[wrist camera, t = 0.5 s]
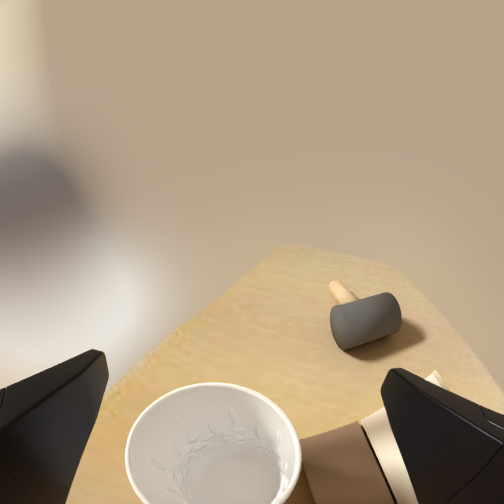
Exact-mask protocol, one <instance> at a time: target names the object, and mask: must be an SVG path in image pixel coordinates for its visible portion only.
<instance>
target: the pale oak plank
mask: <svg viewBox="0 0 504 504" xmlns="http://www.w3.org/2000/svg"><path fill="white" fill-rule="evenodd" d="M425 380H427V381H429V382H431V383H433V384H435V385H437V386H440V387H442V388H444V389H446V390H448V391H449V389H448V388H447V386H446V385H445V383H444V382H443V380H442V379H441V377H440V376H439V374H438V373H437V371H436V370H435V371H433V372H432V374H431V375H429V376H428V377H427V378H425ZM361 422H362V425H363V427H364V429H365V431H366V433H367V435H368V438H369V440H370V442H371V444H372V446H373V449H374V451H375V453H376V455H377V457H378V460H379V462H380V464H381V466H382V469H383V471H384V473H385V475H386V478H387V480H388V482H389V484H390V487H391V489H392V491H393V494H394V496H395V498H396V501H397V503H398V504H418V502H417V499H416V496H415V493H414V490H413V487H412V484H411V481H410V478H409V475H408V473H407V470H406V467H405V464H404V462H403V459H402V456H401V454H400V451H399V448H398V446H397V443H396V441H395V438H394V435H393V433H392V430H391V427H390V424H389V420H388V417H387V413H386V410H385V406H384V407H383V408H381V409H380V410H378V411H376V412H375V413H373V414H371V415H369V416H368V417H366V418H364V419H362V420H361Z"/></svg>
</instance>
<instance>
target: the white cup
mask: <svg viewBox="0 0 504 504" xmlns="http://www.w3.org/2000/svg"><path fill="white" fill-rule="evenodd" d="M301 463H302V452H301V445H300V440H299V437H298V434H297V432H296V429H295V427H294V425H293V424H292V422H291V421H290V419H289V418H288V416H287V415H286V414H285V413H284V411H283V410H282V409H281V408H280V407H279V406H277V405H276V404H275V403H274V402H273V401H271V400H270V399H268V398H267V397H265V396H264V395H262V394H260V393H258V392H256V391H254V390H251V389H248V388H246V387H242V386H239V385H234V384H228V383H200V384H194V385H189V386H185V387H182V388H179V389H176V390H174V391H172V392H169V393H167V394H166V395H164V396H162V397H160V398H159V399H157V400H156V401H155V402H153V403H152V404H151V405H150V406H148V407H147V408H146V409H145V410H144V411H143V413H142V414H141V415H140V416H139V417H138V419H137V420H136V422H135V423H134V425H133V427H132V429H131V431H130V434H129V436H128V439H127V443H126V450H125V464H126V470H127V474H128V478H129V480H130V483H131V485H132V487H133V489H134V491H135V492H136V494H137V495H138V497H139V498H140V499H141V500H142V502H143V503H144V504H283V503H284V502H285V501H286V500H287V499H288V497H289V496H290V494H291V493H292V491H293V489H294V487H295V485H296V483H297V480H298V478H299V474H300V470H301Z"/></svg>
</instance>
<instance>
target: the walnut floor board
mask: <svg viewBox="0 0 504 504" xmlns="http://www.w3.org/2000/svg"><path fill="white" fill-rule="evenodd" d="M300 445H301V452H302V463H301V464H302V468H303V471H304V474H305V477H306V480H307V483H308V486H309V489H310V492H311V495H312V498H313V501H314V504H395V502H394V500H393V498H392V495H391V493H390V491H389V488H388V486H387V484H386V481H385V479H384V477H383V474H382V472H381V470H380V468H379V465H378V463H377V461H376V459H375V456H374V454H373V452H372V450H371V448H370V445H369V443H368V441H367V439H366V436H365V434H364V432H363V430H362V428H361V426H360V424H359V423H358V421H356V422H354V423H351V424H348V425H346V426H343V427H340V428H337V429H334V430H331V431H328V432H325V433H322V434H318V435H315V436H312V437H308V438H305V439H301V440H300Z"/></svg>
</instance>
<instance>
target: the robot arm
mask: <svg viewBox="0 0 504 504" xmlns="http://www.w3.org/2000/svg"><path fill="white" fill-rule="evenodd" d="M108 378H109V372H108V367H107V362H106V356H105V354H104V352H102V351H98V350H94V349H91V350H89V351H87V352H84V353H82V354H80V355H78V356H76V357H74V358H71V359H69V360H67V361H64V362H62V363H60V364H58V365H56V366H53V367H51V368H49V369H46V370H44V371H42V372H40V373H37V374H35V375H33V376H31V377H28V378H26V379H24V380H21V381H19V382H17V383H14V384H12V385H10V386H7V387H6V388H3V389H1V390H0V504H65V503H66V500H67V497H68V494H69V491H70V488H71V485H72V482H73V479H74V476H75V473H76V470H77V468H78V465H79V462H80V460H81V457H82V454H83V452H84V449H85V446H86V444H87V441H88V439H89V436H90V434H91V431H92V429H93V426H94V424H95V421H96V419H97V416H98V412H99V409H100V405H101V402H102V399H103V395H104V392H105V389H106V385H107V382H108ZM381 396H382V399H383V403H384V406H385V410H386V413H387V417H388V420H389V424H390V427H391V430H392V433H393V435H394V438H395V441H396V443H397V446H398V448H399V451H400V454H401V456H402V459H403V462H404V464H405V467H406V470H407V473H408V475H409V478H410V481H411V484H412V487H413V490H414V493H415V496H416V499H417V502H418V504H504V415H503V414H500V413H497V412H495V411H492V410H490V409H487V408H485V407H483V406H481V405H480V406H479V405H478V404H476V403H474V402H472V401H470V400H467V399H465V398H463V397H461V396H459V395H457V394H454V393H452V392H450V391H448V390H446V389H444V388H442V387H440V386H437V385H435V384H433V383H431V382H429V381H427V380H425V379H423V378H421V377H419V376H417V375H415V374H413V373H411V372H409V371H407V370H405V369H403V368H393V369H390V370H389V371H388V373H387V376H386V378H385V380H384V382H383V384H382V387H381Z"/></svg>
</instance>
